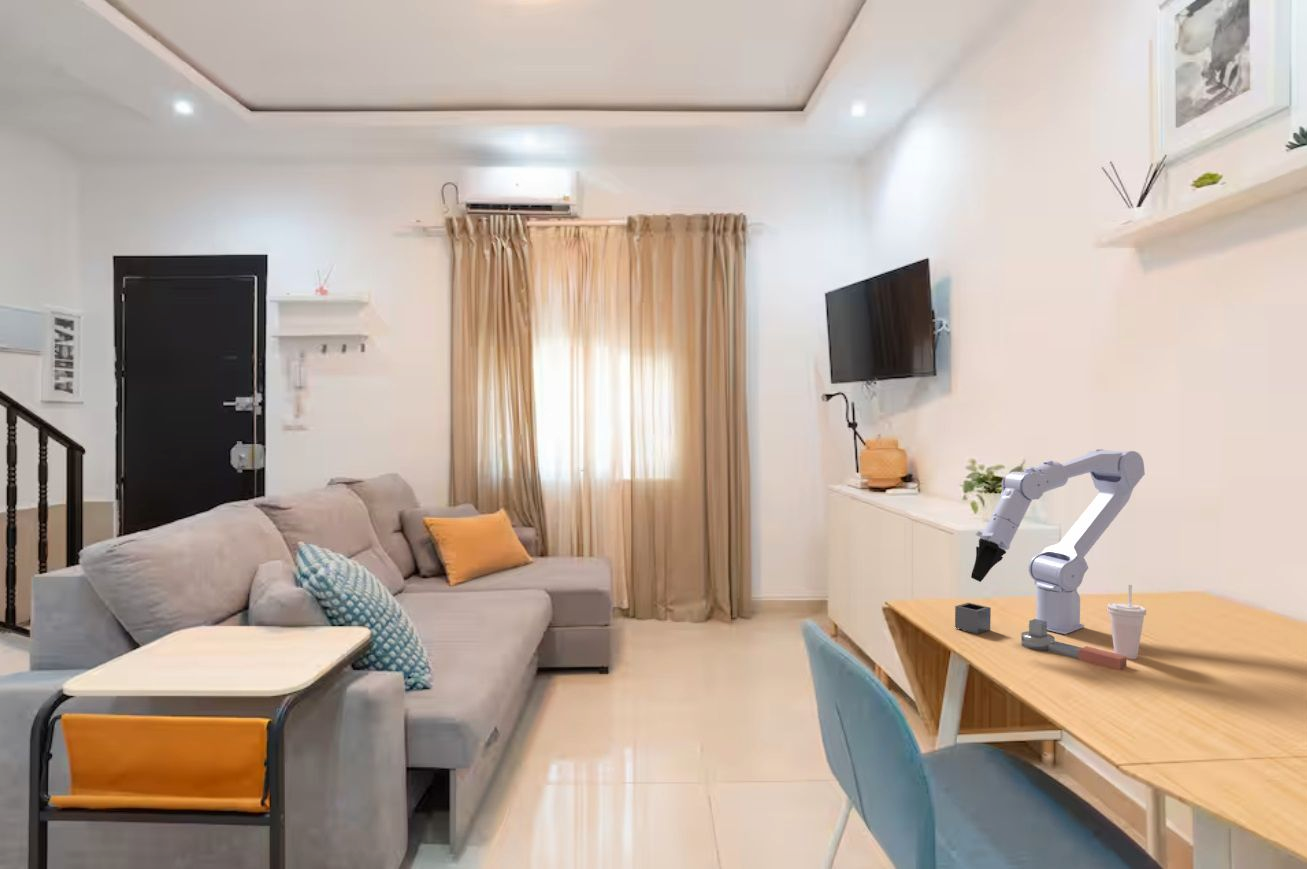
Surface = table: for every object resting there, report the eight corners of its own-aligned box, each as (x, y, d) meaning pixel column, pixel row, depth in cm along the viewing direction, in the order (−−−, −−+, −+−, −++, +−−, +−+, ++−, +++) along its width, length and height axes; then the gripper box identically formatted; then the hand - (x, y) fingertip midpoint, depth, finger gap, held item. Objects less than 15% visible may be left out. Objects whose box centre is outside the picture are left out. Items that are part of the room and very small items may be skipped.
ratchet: (1129, 665, 134) (1130, 637, 134) (1116, 671, 131) (1116, 643, 130) (1030, 639, 149) (1030, 615, 149) (1015, 645, 146) (1015, 620, 145)
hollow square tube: (967, 624, 160) (968, 602, 160) (990, 630, 156) (990, 607, 155) (955, 628, 157) (955, 606, 157) (977, 634, 153) (977, 611, 152)
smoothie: (1151, 662, 135) (1153, 589, 135) (1114, 660, 137) (1116, 588, 136) (1136, 651, 142) (1137, 581, 141) (1100, 649, 143) (1101, 580, 142)
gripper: (983, 520, 162) (957, 572, 160) (988, 506, 149) (959, 563, 147) (1015, 534, 159) (988, 588, 157) (1023, 522, 146) (993, 580, 144)
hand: (976, 577), depth 152 cm, fingers open, 7 cm apart
